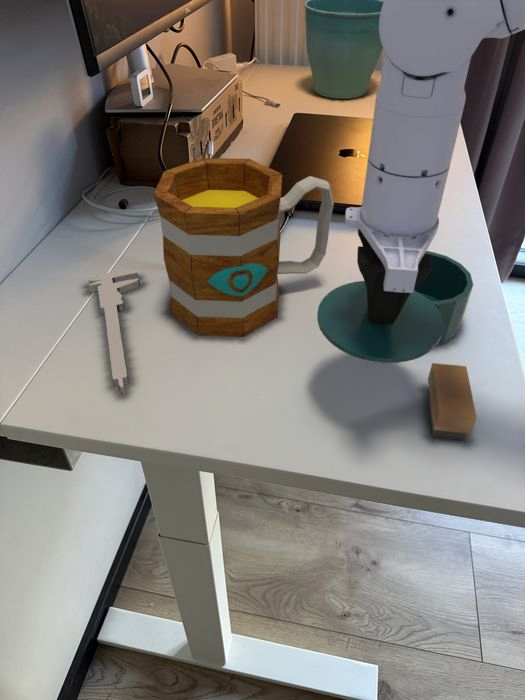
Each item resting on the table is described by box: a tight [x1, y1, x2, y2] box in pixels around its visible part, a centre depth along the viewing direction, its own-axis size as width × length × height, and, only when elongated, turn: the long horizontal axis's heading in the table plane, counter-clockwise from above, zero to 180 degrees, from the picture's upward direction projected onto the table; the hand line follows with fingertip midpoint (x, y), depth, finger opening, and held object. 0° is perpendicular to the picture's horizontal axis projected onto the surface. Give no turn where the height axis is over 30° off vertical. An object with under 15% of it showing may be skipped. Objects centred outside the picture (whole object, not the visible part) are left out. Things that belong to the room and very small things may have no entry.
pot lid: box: [316, 280, 443, 364], centre depth 47 cm, size 11×11×5 cm
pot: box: [414, 250, 474, 347], centre depth 61 cm, size 10×10×6 cm
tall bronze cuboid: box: [427, 362, 477, 441], centre depth 51 cm, size 3×6×4 cm, turn 172°
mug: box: [153, 157, 335, 338], centre depth 61 cm, size 20×14×15 cm
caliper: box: [87, 270, 141, 395], centre depth 61 cm, size 20×1×6 cm
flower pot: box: [304, 0, 384, 100], centre depth 117 cm, size 18×18×17 cm
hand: (380, 310), depth 48 cm, fingers closed on pot lid, 2 cm apart
